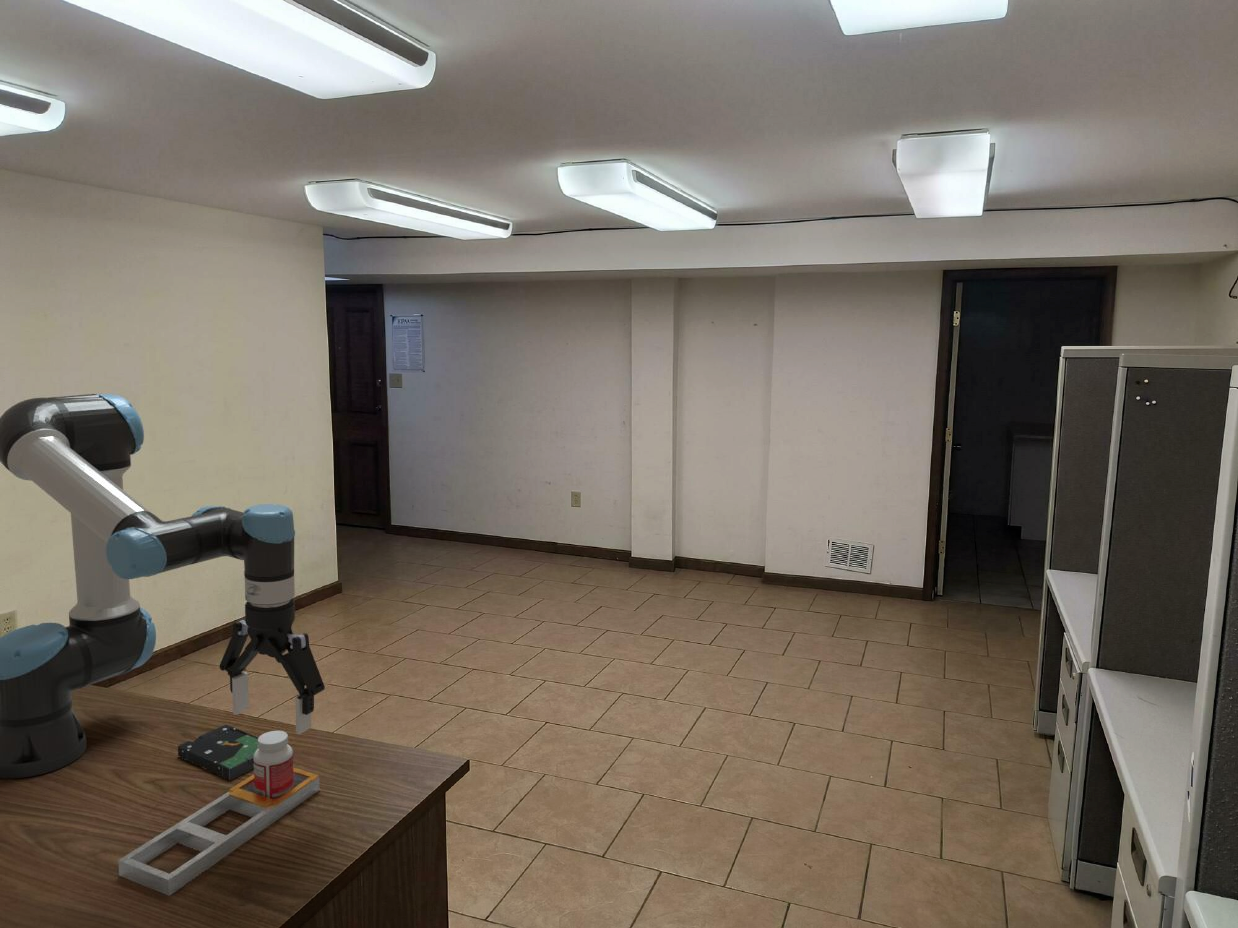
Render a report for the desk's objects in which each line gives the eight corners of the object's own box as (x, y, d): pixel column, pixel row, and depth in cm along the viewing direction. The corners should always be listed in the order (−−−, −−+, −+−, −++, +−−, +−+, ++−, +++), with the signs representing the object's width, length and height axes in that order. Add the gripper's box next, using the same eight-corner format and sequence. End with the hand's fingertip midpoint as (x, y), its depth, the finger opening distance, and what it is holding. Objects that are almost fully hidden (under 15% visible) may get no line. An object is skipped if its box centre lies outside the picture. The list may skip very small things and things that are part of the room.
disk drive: (176, 760, 155) (230, 783, 148) (175, 746, 154) (229, 768, 147) (226, 736, 164) (279, 757, 157) (225, 723, 163) (278, 743, 156)
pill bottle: (299, 787, 147) (297, 728, 145) (286, 807, 141) (285, 746, 139) (262, 786, 146) (261, 727, 144) (248, 807, 140) (246, 745, 138)
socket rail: (119, 875, 122) (118, 858, 122) (274, 775, 150) (274, 761, 149) (169, 895, 119) (168, 877, 118) (319, 789, 146) (319, 775, 146)
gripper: (194, 592, 138) (197, 712, 142) (314, 622, 129) (314, 749, 133) (230, 580, 145) (233, 694, 149) (347, 607, 136) (346, 728, 140)
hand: (271, 720), depth 141 cm, fingers open, 13 cm apart
